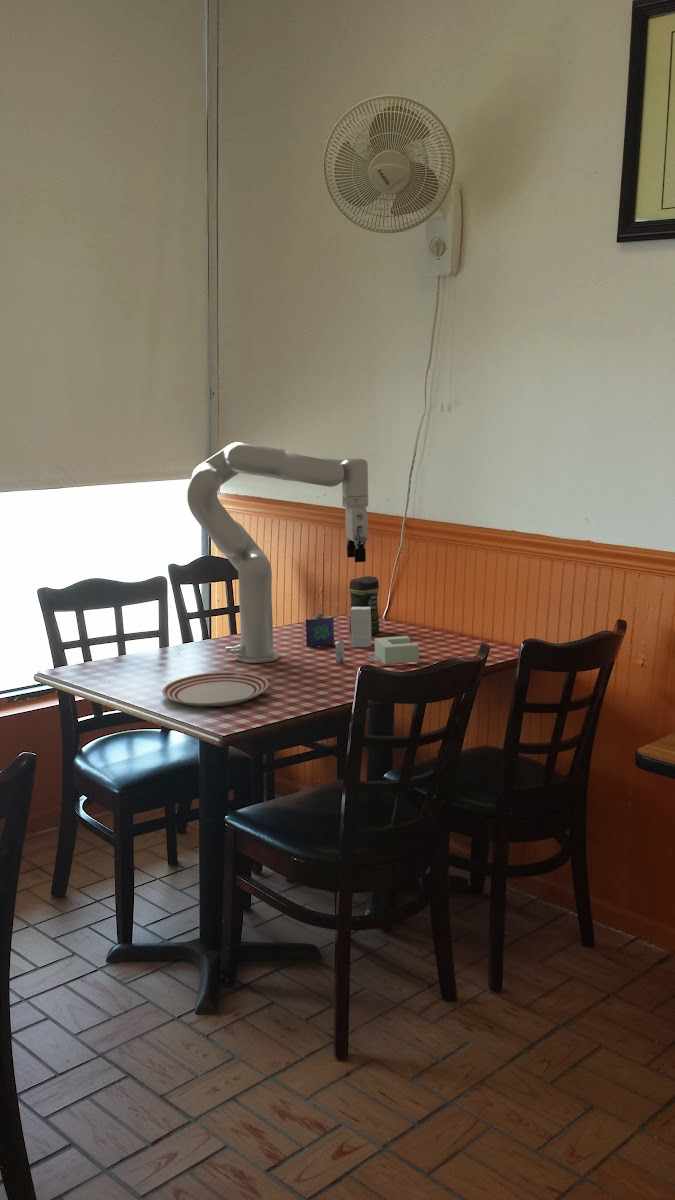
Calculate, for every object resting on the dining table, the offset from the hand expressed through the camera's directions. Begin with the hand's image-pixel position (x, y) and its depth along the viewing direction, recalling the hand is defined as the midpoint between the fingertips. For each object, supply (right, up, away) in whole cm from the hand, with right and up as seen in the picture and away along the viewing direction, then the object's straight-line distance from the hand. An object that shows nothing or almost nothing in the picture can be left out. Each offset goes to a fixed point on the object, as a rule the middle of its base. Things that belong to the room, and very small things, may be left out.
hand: (356, 559), depth 315 cm
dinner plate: (-37, -38, -37) cm, 65 cm away
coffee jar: (+3, -23, +30) cm, 38 cm away
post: (-5, -30, -7) cm, 32 cm away
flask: (-11, -26, +15) cm, 32 cm away
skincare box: (+2, -26, +14) cm, 30 cm away
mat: (+11, -29, -4) cm, 31 cm away
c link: (+11, -29, -4) cm, 31 cm away
